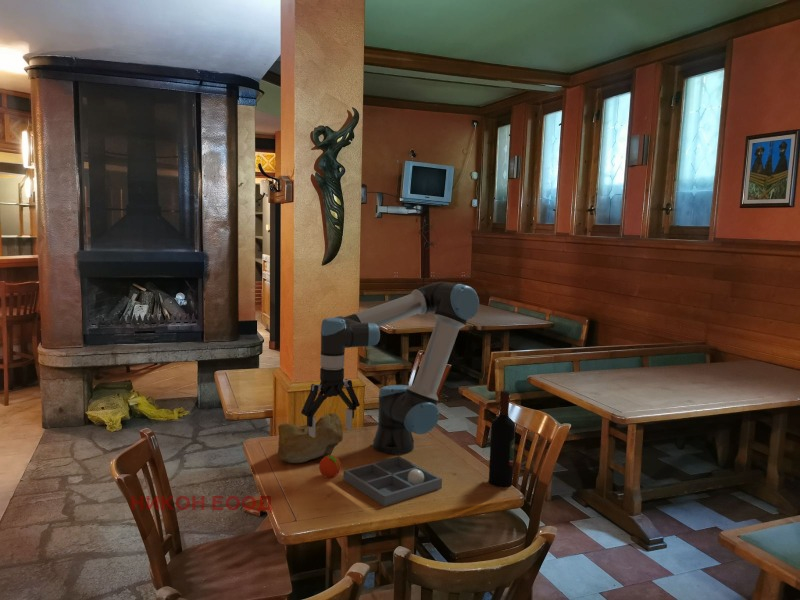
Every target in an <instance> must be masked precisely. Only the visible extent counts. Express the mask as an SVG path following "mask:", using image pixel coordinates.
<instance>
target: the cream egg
mask: <svg viewBox="0 0 800 600" xmlns="http://www.w3.org/2000/svg"><path fill="white" fill-rule="evenodd" d="M408 482H409V483H410V484H412V485H417V484H421V483H423V482H424V474H423V472H422V471H420V470H418V469H413V470H411V471H410V472H409V474H408Z"/></svg>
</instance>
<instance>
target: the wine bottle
mask: <svg viewBox="0 0 800 600" xmlns="http://www.w3.org/2000/svg"><path fill="white" fill-rule="evenodd" d="M499 396H500V399H499V413H498V416H497V417H496V418H494V419H493V420H492V422H491V425H490V427H491V428H490V446H489V447H490V448H489V449H490V450H489V467H488V469H489V470H488V484H490V485H491V486H493V487H496V488H509V487H511V486H512V485H513V477H514V460H515V458H514V455H515V439H516V436H515V435H516V423H515V422H514V421H513V419H511V417H510V416H509V408H510V407H509V405H510V391H509V390H501V391H500V393H499Z"/></svg>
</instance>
